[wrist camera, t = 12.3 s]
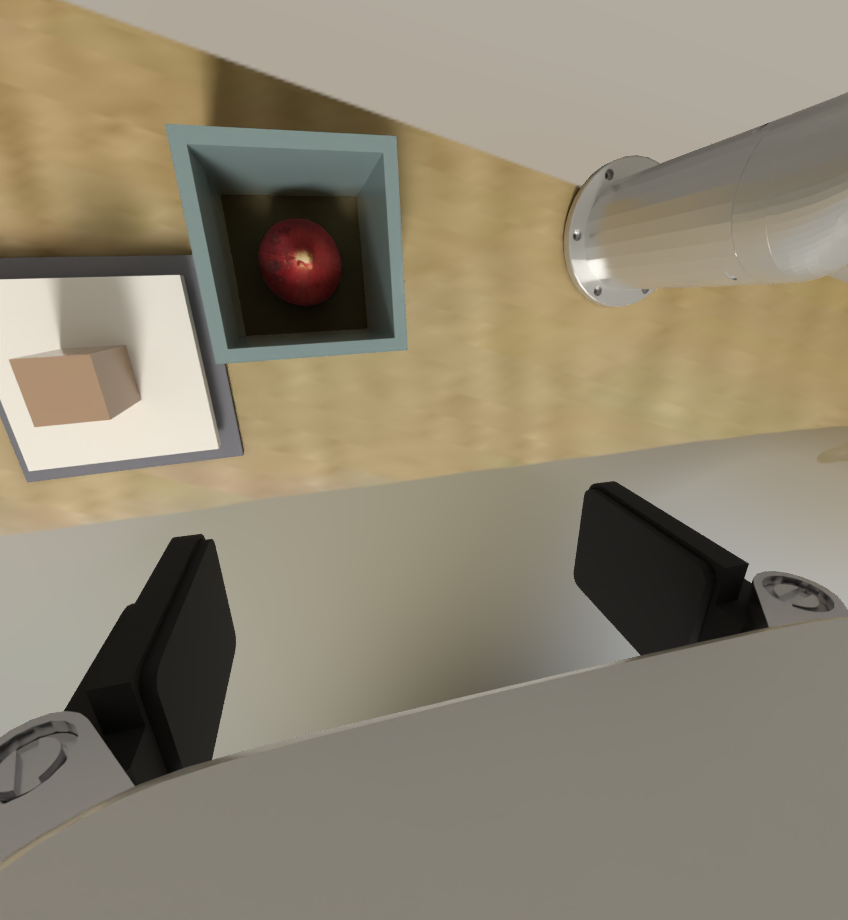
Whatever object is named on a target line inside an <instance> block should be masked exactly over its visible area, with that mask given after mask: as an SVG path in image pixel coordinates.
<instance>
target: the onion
mask: <svg viewBox="0 0 848 920" xmlns="http://www.w3.org/2000/svg"><path fill="white" fill-rule="evenodd" d="M257 256H258V262H259V267H260V273H261V276H262V278H263V279H264V281H265V282H266V284H267V285H268V287H269V288H270V290H271V291H272V292H273V293H274V294H276V295H277V296H279V297H280V298H281V299H283V300H284V301H286V302H288V303H292V304H295V305H299V306H310V305H317V304H319V303H321V302H323V301H325V300H327V299H329V298H330V297H331V296H332V295H333V293H334V292H335V290H336V289H337V288H338V286H339V284H340V279H341V275H342V262H341V254H340V252H339V250H338V248H337V246H336V244H335V242H334V240H333V238H332V236H331V235H330V234H329V233H328V232H327V231H326V230H325V229H323V228H322V227H321V226H320V225H319V224H317V223H314V222H312V221H309V220H307V219H304V218H289V219H285V220H283V221H280V222H278V223H276V224H273V226H272V227H271V228H270V229H269V230H268V232H267V233H266V234H265V235H264V236H263V238H262V241H261V244H260V248H259V252H258V255H257Z"/></svg>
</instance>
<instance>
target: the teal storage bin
mask: <svg viewBox="0 0 848 920" xmlns="http://www.w3.org/2000/svg"><path fill="white" fill-rule="evenodd" d="M165 127H166V132H167V136H168V141H169V146H170V150H171V155H172V160H173V165H174V169H175V174H176V179H177V183H178V188H179V193H180V198H181V202H182V207H183V212H184V216H185V221H186V226H187V231H188V235H189V240H190V245H191V249H192V254H193V259H194V264H195V268H196V273H197V278H198V282H199V287H200V292H201V297H202V301H203V306H204V311H205V316H206V320H207V325H208V330H209V334H210V339H211V344H212V349H213V353H214V358H215V363H216V364H226V363H239V362H253V361H266V360H280V359H293V358H307V357H320V356H334V355H347V354H361V353H374V352H388V351H401V350H408V348H407V329H406V310H405V291H404V272H403V253H402V234H401V215H400V196H399V177H398V158H397V139H396V136H387V135H368V134H349V133H330V132H311V131H292V130H273V129H254V128H235V127H216V126H197V125H178V124H165ZM220 194H222V195H282V196H343V197H357V207H358V219H359V231H360V242H361V254H362V266H363V278H364V290H365V302H366V314H367V326H368V329H354V330H337V331H321V332H304V333H287V334H271V335H254V336H246V332H245V326H244V321H243V315H242V310H241V304H240V299H239V293H238V288H237V282H236V277H235V271H234V266H233V261H232V255H231V250H230V244H229V239H228V233H227V228H226V222H225V217H224V211H223V206H222V200H221V195H220Z"/></svg>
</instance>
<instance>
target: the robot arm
mask: <svg viewBox="0 0 848 920" xmlns="http://www.w3.org/2000/svg"><path fill="white" fill-rule="evenodd" d="M564 256H565V261H566V266H567V269H568V272H569V275H570V277H571V280H572V281H573V283H574V284H575V286H576V288H577V289H578V290H579V291H580V292H581V293H582V294H583V295H584V296H585V297H586V298H587V299H589V300H590V301H592V302H594V303H596V304H599V305H602V306H610V307H620V306H627V305H631V304H634V303H636V302H638V301H640V300H642V299H644V298H646V297H647V296H648V295H649V294H651V293H652V292H653V291H654V290H655V289H661V288H687V287H713V286H739V285H765V284H784V283H798V282H805V281H810V280H814V279H818V278H821V277H824V276H827V275H829V274H832V273H834V272H837V271H839V270H841V269H843V268H845V267H847V266H848V92H847V93H845V94H843V95H840V96H838V97H835V98H832V99H830V100H827V101H825V102H822V103H819V104H817V105H814V106H811V107H809V108H806V109H803V110H801V111H798V112H796V113H793V114H791V115H788V116H786V117H783V118H780V119H778V120H775V121H772V122H770V123H767V124H765V125H762V126H759V127H757V128H754V129H751V130H749V131H746V132H743V133H741V134H738V135H736V136H733V137H730V138H727V139H725V140H722V141H719V142H717V143H714V144H711V145H709V146H706V147H704V148H701V149H698V150H696V151H693V152H690V153H688V154H685V155H682V156H680V157H677V158H675V159H672V160H669V161H667V162H664V163H661V164H659V163H658V162H656V161H654V160H652V159H650V158H648V157H642V156H626V157H623V158H620V159H617V160H615V161H612V162H611V163H608V164H606V165H604V166H602V167H601V168H600V169H598V170H597V171H596V172H595V173H593V174H592V175H591V176H590V177H589V178H588V180H587V181H586V182H585V183H584V184H583V185H582V187H581V188H580V190H579V192H578V193H577V195H576V197H575V198H574V201H573V203H572V205H571V208H570V210H569V213H568V217H567V221H566V225H565V233H564ZM748 565H749V564H748V563H746V562H745V561H744V560H742V559H740V558H738V557H737V556H735V555H734V554H732V553H731V552H729V551H727V550H726V549H724V548H722V547H721V546H719V545H717V544H716V543H714V542H713V541H711V540H709V539H708V538H706V537H705V536H703V535H701V534H700V533H698V532H696V531H695V530H693V529H692V528H690V527H688V526H686V525H685V524H683V523H682V522H680V521H679V520H677V519H675V518H674V517H672V516H670V515H668V514H667V513H665V512H664V511H662V510H661V509H659V508H657V507H656V506H654V505H653V504H651V503H649V502H648V501H646V500H644V499H643V498H641V497H640V496H638V495H636V494H635V493H633V492H631V491H630V490H628V489H627V488H625V487H623V486H622V485H620V484H618V483H617V482H614V481H612V482H604V483H596V484H593V485H591V486H590V488H589V490H587V491H586V492H585V495H584V502H583V508H582V515H581V523H580V531H579V537H578V545H577V552H576V559H575V566H574V579H575V582H576V584H577V586H578V587H579V588H580V589H581V590H582V591H583V593H584V594H585V595H586V596H587V597H588V598H589V599H590V600H591V601H592V602H593V603H594V605H595V606H596V607H597V608H598V609H599V610H600V611H601V612H602V613H603V614H604V616H605V617H606V618H607V619H608V620H609V621H610V622H611V623H612V624H613V625H614V626H615V627H616V629H617V630H618V631H619V632H620V633H621V634H622V635H623V636H624V637H625V639H627V641H628V642H629V643H630V644H631V645H632V646H633V647H634V648H635V649H636V651H637V652H638V653H639V654H640V655H641V656H637V657H633V658H628V659H624V660H619V661H615V662H611V663H607V664H602V665H598V666H593V667H589V668H585V669H581V670H576V671H572V672H568V673H563V674H559V675H555V676H551V677H546V678H542V679H538V680H533V681H529V682H525V683H520V684H517V685H512V686H508V687H503V688H499V689H495V690H491V691H486V692H482V693H478V694H474V695H469V696H465V697H461V698H457V699H453V700H449V701H444V702H440V703H436V704H432V705H428V706H424V707H420V708H415V709H412V710H407V711H403V712H399V713H394V714H391V715H386V716H382V717H378V718H374V719H370V720H365V721H361V722H357V723H353V724H349V725H345V726H341V727H336V728H333V729H328V730H324V731H320V732H316V733H312V734H308V735H304V736H300V737H296V738H292V739H288V740H284V741H280V742H276V743H272V744H268V745H264V746H261V747H257V748H254V749H250V750H246V751H242V752H239V753H235V754H232V755H228V756H225V757H221V758H217V759H214V760H212V757H213V752H214V747H215V742H216V738H217V733H218V729H219V724H220V719H221V715H222V710H223V704H224V700H225V695H226V691H227V686H228V682H229V677H230V672H231V668H232V663H233V658H234V654H235V647H236V636H235V630H234V626H233V622H232V617H231V612H230V608H229V604H228V599H227V595H226V590H225V586H224V582H223V577H222V573H221V568H220V564H219V559H218V555H217V551H216V546H215V543H214V541H213V539H208V540H205V538H204V536H203V535H202V534H197V535H189V536H182V537H174V538H172V540H171V541H170V543H169V545H168V546H167V548H166V550H165V552H164V554H163V555H162V557H161V559H160V560H159V562H158V564H157V566H156V567H155V569H154V571H153V573H152V575H151V576H150V578H149V580H148V581H147V583H146V585H145V587H144V588H143V590H142V592H141V594H140V596H139V597H138V599H137V601H136V602H135V604H131V605H129V606H127V607H126V608H125V610H124V611H123V612H122V614H121V616H120V617H119V619H118V621H117V622H116V624H115V626H114V627H113V629H112V631H111V632H110V634H109V636H108V638H107V639H106V641H105V643H104V644H103V646H102V648H101V649H100V651H99V653H98V654H97V656H96V658H95V660H94V661H93V663H92V665H91V666H90V668H89V670H88V671H87V673H86V675H85V676H84V678H83V680H82V681H81V683H80V685H79V686H78V688H77V690H76V692H75V693H74V695H73V697H72V698H71V700H70V702H69V703H68V705H67V707H66V708H65V710H64V712H57V713H50V714H47V715H44V716H41V717H38V718H36V719H32V720H30V721H28V722H26V723H24V724H22V725H20V726H18V727H16V728H14V729H12V730H10V731H9V732H8V733H6V734H5V735H3V736H2V737H0V920H848V610H847V608H846V607H845V605H844V603H843V602H842V601H841V600H840V599H839V598H838V596H836V595H835V594H834V593H832V592H831V591H829V590H828V589H827V588H825V587H823V586H821V585H819V584H817V583H815V582H813V581H811V580H808V579H805V578H803V577H800V576H796V575H793V574H789V573H783V572H776V571H769V572H762V573H758V574H757V575H756V576H755V577H754V578H753V581H752V583H750V582H748V581H747V580H746V579H744V577H745V574H746V571H747V568H748Z"/></svg>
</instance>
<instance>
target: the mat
mask: <svg viewBox="0 0 848 920" xmlns="http://www.w3.org/2000/svg"><path fill="white" fill-rule="evenodd" d="M157 275H182V276H184V280H185V284H186V289H187V293H188V298H189V302H190V307H191V311H192V316H193V320H194V325H195V329H196V334H197V338H198V343H199V347H200V352H201V356H202V361H203V365H204V370H205V374H206V379H207V383H208V388H209V392H210V397H211V401H212V406H213V410H214V415H215V419H216V424H217V428H218V433H219V437H220V442H221V445H220V447H219V449H213V450H205V451H196V452H188V453H179V454H171V455H163V456H154V457H146V458H137V459H129V460H121V461H112V462H104V463H95V464H87V465H79V466H70V467H62V468H53V469H45V470H37V471H29V470H28V468H27V465H26V463H25V460H24V458H23V455H22V453H21V450H20V448H19V445H18V443H17V440H16V438H15V435H14V433H13V430H12V428H11V425H10V423H9V420H8V418H7V415H6V413H5V410H4V408H3V405H2V403H1V400H0V417H1V419H2V421H3V424H4V426H5V429H6V431H7V434H8V436H9V439H10V441H11V444H12V446H13V448H14V451H15V453H16V456H17V458H18V461H19V463H20V466H21V468H22V470H23V473H24V475H25V478H26V480H27V482H34V481H42V480H50V479H58V478H66V477H74V476H82V475H90V474H98V473H106V472H114V471H123V470H131V469H139V468H147V467H155V466H163V465H171V464H179V463H187V462H195V461H203V460H211V459H219V458H227V457H235V456H243V455H244V453H243V448H242V443H241V438H240V434H239V429H238V424H237V419H236V414H235V409H234V404H233V399H232V394H231V389H230V385H229V380H228V375H227V370H226V365H225V364H216V363H215V358H214V353H213V349H212V344H211V339H210V334H209V330H208V325H207V320H206V316H205V311H204V306H203V301H202V297H201V292H200V287H199V282H198V278H197V273H196V268H195V264H194V259H193V255H151V256H87V257H22V258H0V279H39V278H78V277H118V276H157Z"/></svg>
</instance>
